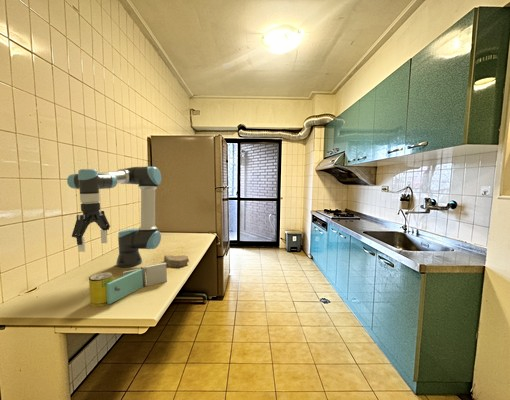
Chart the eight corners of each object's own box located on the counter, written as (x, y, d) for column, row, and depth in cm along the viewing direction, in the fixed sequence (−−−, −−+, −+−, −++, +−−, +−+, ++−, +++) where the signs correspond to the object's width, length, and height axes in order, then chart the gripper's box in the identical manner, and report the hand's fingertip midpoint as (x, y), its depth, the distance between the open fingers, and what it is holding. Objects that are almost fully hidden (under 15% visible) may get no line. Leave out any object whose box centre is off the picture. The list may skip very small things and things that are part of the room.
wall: (123, 289, 124) (122, 269, 123) (165, 279, 136) (164, 261, 135) (124, 291, 121) (124, 271, 120) (166, 281, 133) (166, 263, 132)
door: (107, 303, 108) (106, 283, 107) (140, 286, 126) (139, 269, 125) (112, 304, 107) (111, 284, 106) (145, 287, 125) (144, 269, 124)
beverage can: (116, 296, 116) (115, 271, 115) (109, 305, 107) (108, 279, 106) (95, 298, 114) (94, 273, 113) (86, 307, 105) (85, 281, 104)
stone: (189, 266, 157) (189, 260, 157) (164, 269, 151) (164, 262, 151) (186, 259, 173) (186, 252, 172) (164, 261, 167) (163, 254, 167)
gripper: (102, 199, 126) (105, 239, 128) (58, 205, 101) (62, 255, 103) (116, 199, 125) (118, 240, 127) (74, 205, 100) (78, 255, 102)
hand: (93, 247), depth 115 cm, fingers open, 13 cm apart
